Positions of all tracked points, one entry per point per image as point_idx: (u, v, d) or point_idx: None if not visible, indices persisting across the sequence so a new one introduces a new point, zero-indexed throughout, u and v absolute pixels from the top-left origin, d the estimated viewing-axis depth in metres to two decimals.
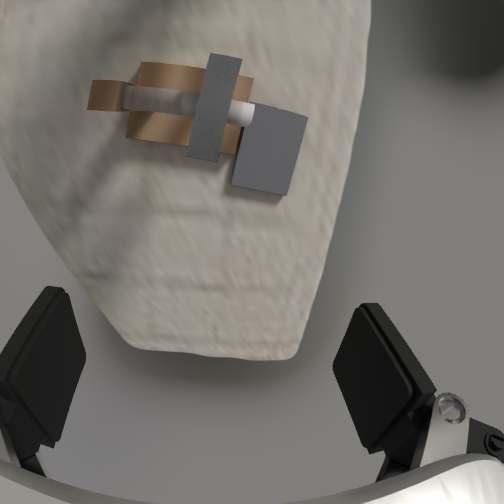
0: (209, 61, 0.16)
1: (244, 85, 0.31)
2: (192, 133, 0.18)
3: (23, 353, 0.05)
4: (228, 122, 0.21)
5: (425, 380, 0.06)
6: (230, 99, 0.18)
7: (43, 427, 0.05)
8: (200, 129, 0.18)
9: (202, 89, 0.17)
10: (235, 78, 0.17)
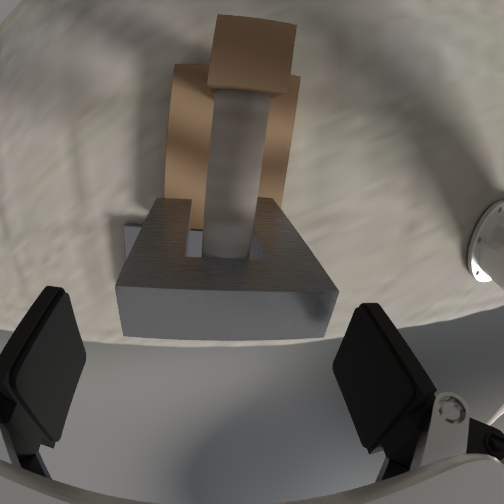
0: (322, 293, 0.10)
1: None
2: (165, 291, 0.09)
3: (23, 353, 0.05)
4: None
5: (425, 380, 0.06)
6: (245, 338, 0.10)
7: (43, 427, 0.05)
8: (176, 304, 0.09)
9: (263, 294, 0.10)
10: (287, 337, 0.11)
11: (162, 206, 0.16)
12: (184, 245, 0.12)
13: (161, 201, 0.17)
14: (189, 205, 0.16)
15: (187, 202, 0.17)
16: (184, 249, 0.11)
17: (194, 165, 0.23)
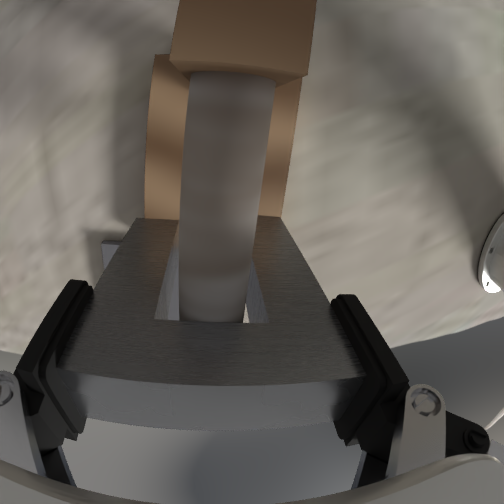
0: (345, 380, 0.06)
1: None
2: (120, 382, 0.06)
3: (52, 344, 0.05)
4: None
5: (397, 370, 0.06)
6: (237, 429, 0.07)
7: (68, 419, 0.05)
8: (139, 395, 0.06)
9: (260, 388, 0.06)
10: (293, 425, 0.07)
11: (140, 231, 0.12)
12: (156, 298, 0.08)
13: (140, 223, 0.13)
14: (174, 229, 0.13)
15: (172, 225, 0.13)
16: (155, 305, 0.08)
17: (178, 174, 0.19)
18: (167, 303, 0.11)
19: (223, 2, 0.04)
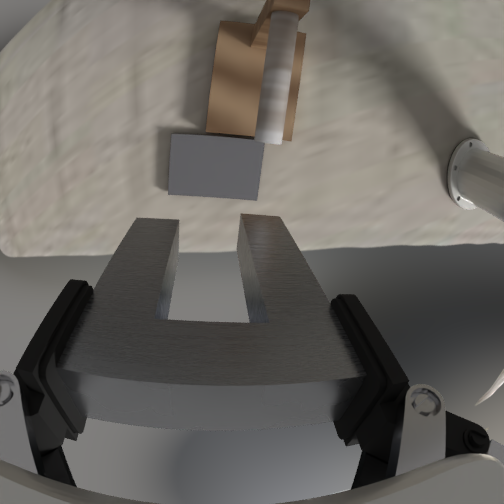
0: (345, 380, 0.06)
1: (282, 132, 0.32)
2: (120, 381, 0.06)
3: (52, 344, 0.05)
4: (258, 118, 0.19)
5: (397, 370, 0.06)
6: (238, 429, 0.07)
7: (68, 419, 0.05)
8: (139, 395, 0.06)
9: (261, 388, 0.06)
10: (293, 425, 0.07)
11: (140, 231, 0.12)
12: (156, 297, 0.08)
13: (140, 223, 0.13)
14: (174, 229, 0.13)
15: (172, 225, 0.13)
16: (155, 305, 0.08)
17: (232, 87, 0.29)
18: (167, 303, 0.11)
19: None
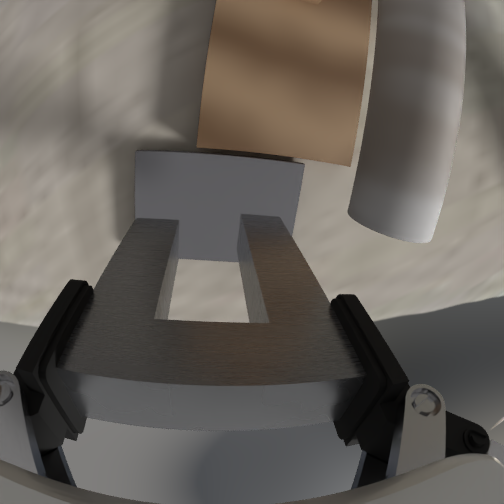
0: (345, 380, 0.06)
1: (337, 151, 0.18)
2: (120, 381, 0.06)
3: (52, 344, 0.05)
4: (379, 140, 0.05)
5: (397, 370, 0.06)
6: (237, 429, 0.07)
7: (68, 419, 0.05)
8: (138, 395, 0.06)
9: (260, 388, 0.06)
10: (293, 425, 0.07)
11: (140, 231, 0.12)
12: (156, 298, 0.08)
13: (140, 223, 0.13)
14: (174, 229, 0.13)
15: (172, 225, 0.13)
16: (155, 305, 0.08)
17: (247, 63, 0.15)
18: (167, 303, 0.11)
19: None
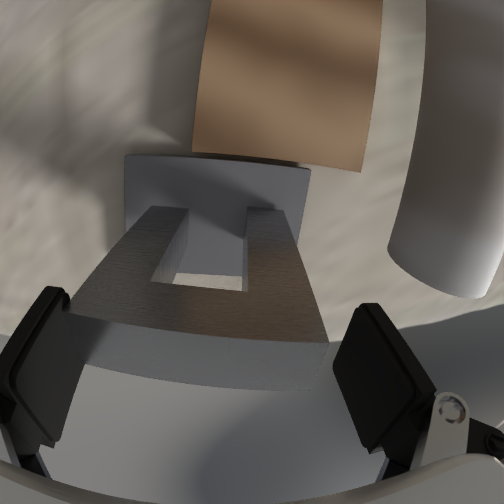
0: (306, 344, 0.07)
1: (346, 155, 0.16)
2: (111, 324, 0.07)
3: (23, 353, 0.05)
4: (444, 161, 0.03)
5: (425, 380, 0.06)
6: (211, 384, 0.08)
7: (43, 427, 0.05)
8: (126, 339, 0.07)
9: (226, 340, 0.07)
10: (262, 388, 0.08)
11: (152, 216, 0.14)
12: (155, 266, 0.10)
13: (154, 209, 0.15)
14: (183, 215, 0.15)
15: (182, 212, 0.15)
16: (153, 271, 0.10)
17: (248, 57, 0.13)
18: (169, 277, 0.12)
19: None
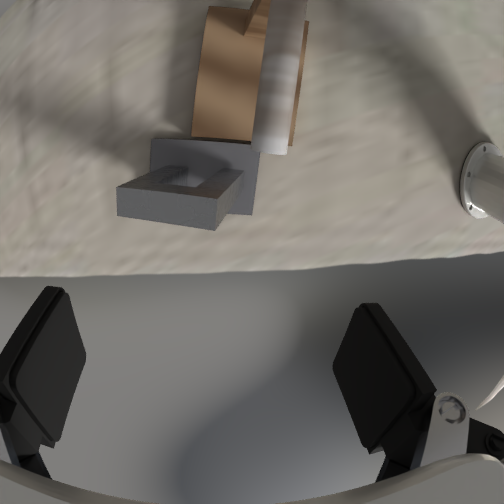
0: (207, 198, 0.18)
1: None
2: (135, 190, 0.19)
3: (23, 353, 0.05)
4: (256, 120, 0.14)
5: (425, 380, 0.06)
6: (171, 222, 0.20)
7: (43, 427, 0.05)
8: (140, 197, 0.19)
9: (177, 195, 0.19)
10: (193, 225, 0.19)
11: (166, 168, 0.26)
12: (160, 180, 0.22)
13: (168, 166, 0.27)
14: (183, 168, 0.26)
15: (183, 167, 0.27)
16: (158, 181, 0.21)
17: (222, 83, 0.24)
18: None
19: None
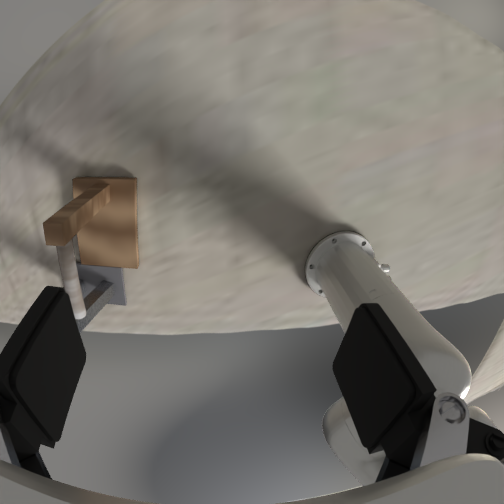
0: None
1: (130, 263, 0.42)
2: None
3: (23, 353, 0.05)
4: None
5: (425, 380, 0.06)
6: None
7: (43, 427, 0.05)
8: None
9: None
10: None
11: None
12: None
13: None
14: None
15: (80, 282, 0.42)
16: None
17: (90, 233, 0.39)
18: None
19: (50, 233, 0.24)
